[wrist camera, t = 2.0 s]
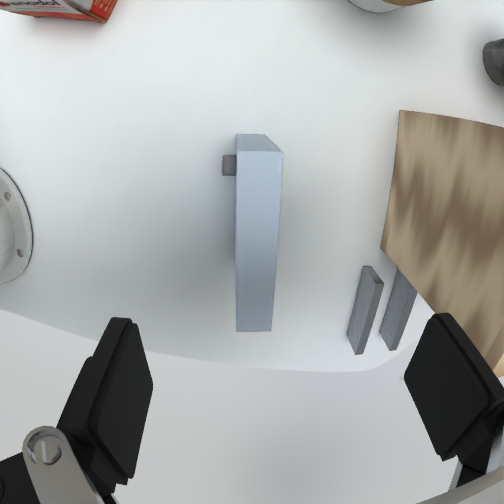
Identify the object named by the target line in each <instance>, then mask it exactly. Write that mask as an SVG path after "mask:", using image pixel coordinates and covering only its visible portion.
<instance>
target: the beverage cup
mask: <svg viewBox="0 0 504 504" xmlns="http://www.w3.org/2000/svg"><path fill="white" fill-rule="evenodd" d="M483 60H484V65H485V68H486V70H487V73H488V74H489V76H490V78H491V79H492V80H493V81H494V82H495V83H497V84H499V85H504V39H500V40H497V41H494V42H489V43H487V44H486V45H485V47H484V51H483Z"/></svg>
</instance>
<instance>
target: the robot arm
mask: <svg viewBox="0 0 504 504" xmlns="http://www.w3.org/2000/svg"><path fill="white" fill-rule="evenodd" d="M31 248H32V232H31V225H30V220H29V216H28V212H27V209H26V206H25V204H24V201H23V199H22V196H21V195H20V193H19V191H18V189H17V187H16V186H15V184H14V183H13V182H12V180H11V179H10V178H9V176H8V175H7V174H6V173H4V172H3V171H2V170H1V169H0V283H7V282H10V281H12V280H14V279H15V278H17V277H18V276H19V275H20V274H21V273H22V272H23V271H24V269H25V267H26V266H27V264H28V261H29V258H30V255H31ZM404 381H405V383H406V385H407V387H408V390H409V392H410V394H411V396H412V398H413V401H414V402H415V405H416V407H417V409H418V411H419V414H420V416H421V418H422V421H423V423H424V425H425V428H426V430H427V432H428V435H429V437H430V440H431V442H432V444H433V447H434V449H435V452H436V453H437V454H438V455H440V456H441V459H442V461H445V460H448V459H450V458H453V457H455V456H456V455H457V456H458V458H459V460H458V463H457V467H456V470H455V473H454V476H453V479H452V481H451V484H450V487H449V490H448V492H446V493H444V494H441V495H439V496H436V497H433V498H431V499H428V500H425V501H423V502H420V503H417V504H504V387H503V386H502V384H501V383H500V381H499V380H498V378H497V377H496V375H495V374H494V372H493V371H492V369H491V368H490V366H489V365H488V363H487V362H486V361H485V359H484V358H483V356H482V355H481V353H480V352H479V351H478V349H477V348H476V347H475V345H474V344H473V342H472V341H471V340H470V338H469V337H468V336H467V334H466V333H465V332H464V330H463V329H462V328H461V326H460V325H459V324H458V323H457V321H456V320H455V319H454V317H453V316H452V315H451V314H450V313H448V312H446V313H437V314H434V315H432V317H431V319H429V320H428V322H427V324H426V326H425V329H424V331H423V334H422V336H421V338H420V341H419V343H418V345H417V347H416V350H415V352H414V354H413V356H412V358H411V361H410V363H409V365H408V367H407V369H406V371H405V374H404ZM152 391H153V381H152V377H151V374H150V371H149V367H148V363H147V360H146V356H145V352H144V349H143V345H142V341H141V337H140V333H139V329H138V325H137V324H135V323H132V320H131V319H130V318H117V317H113V318H111V320H110V321H109V323H108V325H107V327H106V329H105V331H104V333H103V335H102V337H101V340H100V342H99V344H98V346H97V348H96V350H95V352H94V354H93V356H92V357H91V356H90V357H89V358H87V359H86V361H85V363H84V365H83V367H82V369H81V371H80V373H79V375H78V378H77V380H76V382H75V384H74V386H73V389H72V391H71V393H70V396H69V398H68V400H67V403H66V405H65V407H64V409H63V412H62V414H61V417H60V419H59V422H58V424H57V426H56V428H54V427H51V426H42V427H37V428H36V429H34V430H32V431H31V432H30V433H29V434H28V435H27V436H26V438H25V440H24V442H23V447H22V451H23V452H21V453H18V454H16V455H14V456H12V457H9V458H7V459H5V460H3V461H0V504H119V502H118V501H117V499H116V498H115V496H114V494H113V493H114V492H115V487H116V483H117V484H122V485H127V482H128V478H130V479H132V478H133V476H134V473H135V469H136V463H137V459H138V454H139V449H140V444H141V439H142V435H143V430H144V426H145V421H146V417H147V412H148V408H149V404H150V400H151V396H152Z"/></svg>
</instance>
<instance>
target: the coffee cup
mask: <svg viewBox="0 0 504 504" xmlns="http://www.w3.org/2000/svg"><path fill="white" fill-rule="evenodd" d="M348 1H350V2H351V3H352V4H354V5H356V6H357V7H359V8H361V9H364V10H366V11H370V12H375V13H384V12H389V11H392V10H395V9H398V8H401V7H405V6H410V5H414V4H418V3H423V2H427V1H432V0H348Z"/></svg>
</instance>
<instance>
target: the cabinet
mask: <svg viewBox="0 0 504 504" xmlns="http://www.w3.org/2000/svg"><path fill="white" fill-rule="evenodd" d="M380 248H381V249H382V250H383V252H384V253H385V254H386V255H387V256H388V257H389V258H390V259H391V261H392V262H393V263H394V264H395V265H396V266H397V267H398V269H399V270H400V271H401V272H402V273H403V274H404V276H405V277H406V278H407V279H408V280H409V282H410V283H411V284H412V285H413V286H414V288H415V289H416V290H417V291H418V292H419V294H420V295H421V296H422V297H423V299H424V300H425V301H426V302H427V304H428V305H429V306H430V307H431V309H432V310H433V311H434V312H435V314H437V313H446V312H448V313H450V314H451V315H452V316H453V317H454V319H455V320H456V321H457V323H458V324H459V325H460V326H461V328H462V329H463V330H464V332H465V333H466V334H467V336H468V337H469V338H470V340H471V341H472V342H473V344H474V345H475V347H476V348H477V349H478V351H479V352H480V353H481V355H482V356H483V358H484V359H485V361H486V362H487V363H488V365H489V366H490V368H491V369H492V371H493V372H494V374H495V375H496V377H497V378H499V377H501V376H504V128H503V127H498V126H494V125H490V124H485V123H481V122H476V121H471V120H466V119H460V118H455V117H449V116H443V115H436V114H430V113H422V112H414V111H406V110H400V116H399V128H398V138H397V148H396V156H395V164H394V172H393V179H392V186H391V193H390V199H389V205H388V211H387V216H386V222H385V227H384V232H383V237H382V242H381V247H380Z"/></svg>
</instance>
